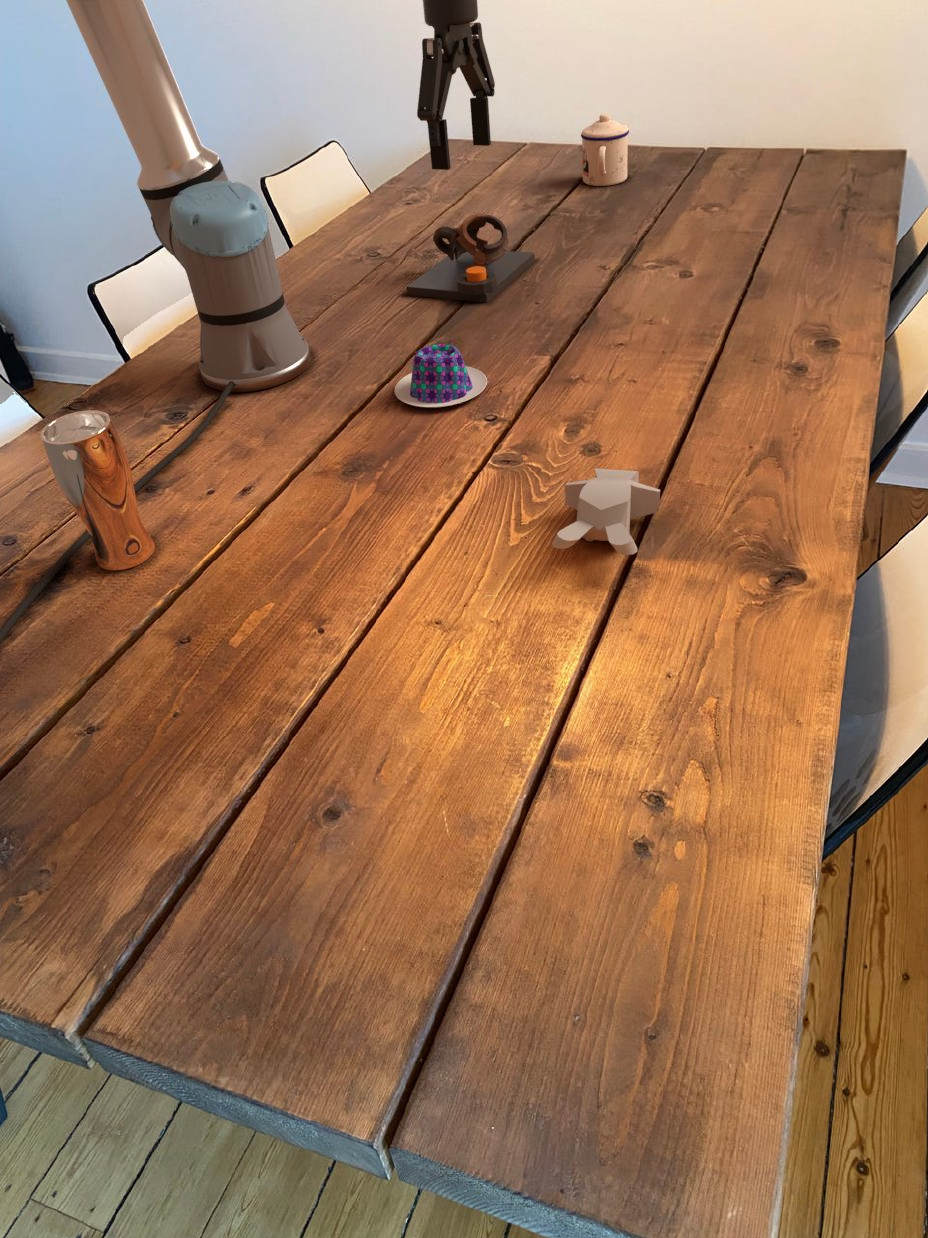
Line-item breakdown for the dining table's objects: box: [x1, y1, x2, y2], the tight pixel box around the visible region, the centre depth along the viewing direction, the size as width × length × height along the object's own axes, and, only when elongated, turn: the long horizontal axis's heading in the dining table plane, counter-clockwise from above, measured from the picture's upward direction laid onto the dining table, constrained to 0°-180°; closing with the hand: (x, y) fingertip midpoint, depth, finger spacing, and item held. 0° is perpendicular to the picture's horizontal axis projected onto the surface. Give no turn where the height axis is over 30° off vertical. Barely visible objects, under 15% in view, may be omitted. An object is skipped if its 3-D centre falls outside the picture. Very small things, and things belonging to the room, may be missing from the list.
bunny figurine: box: [551, 468, 661, 556], centre depth 93 cm, size 10×5×15 cm
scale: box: [406, 250, 536, 304], centre depth 151 cm, size 19×14×3 cm
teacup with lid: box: [580, 113, 630, 187], centre depth 181 cm, size 12×9×12 cm
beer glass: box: [39, 409, 156, 572], centre depth 95 cm, size 7×7×15 cm
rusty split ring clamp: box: [432, 213, 510, 267], centre depth 151 cm, size 12×10×8 cm
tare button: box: [466, 266, 487, 282], centre depth 143 cm, size 3×3×2 cm
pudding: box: [394, 343, 488, 408], centre depth 120 cm, size 12×12×5 cm
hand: (462, 156), depth 143 cm, fingers open, 13 cm apart
